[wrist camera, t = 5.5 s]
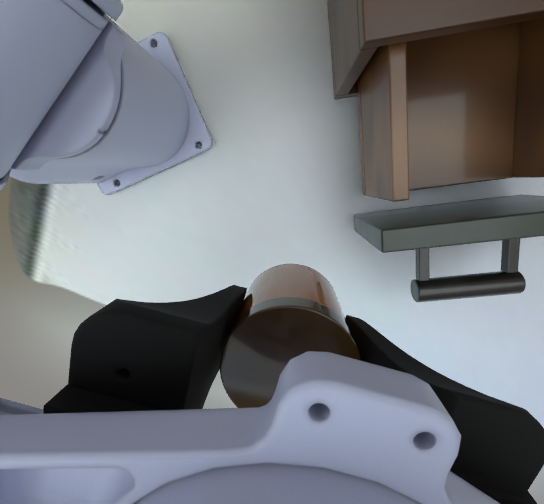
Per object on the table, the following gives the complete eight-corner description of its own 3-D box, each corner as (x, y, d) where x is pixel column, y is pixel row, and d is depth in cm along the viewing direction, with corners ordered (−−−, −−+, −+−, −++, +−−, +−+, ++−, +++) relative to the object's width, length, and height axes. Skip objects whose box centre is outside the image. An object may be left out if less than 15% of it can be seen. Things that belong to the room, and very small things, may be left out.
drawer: (516, 269, 21) (618, 309, 15) (357, 284, 22) (385, 328, 16) (536, -17, 17) (689, -141, 10) (340, 19, 18) (367, -72, 12)
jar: (337, 351, 15) (357, 434, 10) (245, 348, 15) (222, 428, 10) (341, 262, 14) (367, 307, 9) (242, 261, 14) (215, 304, 9)
